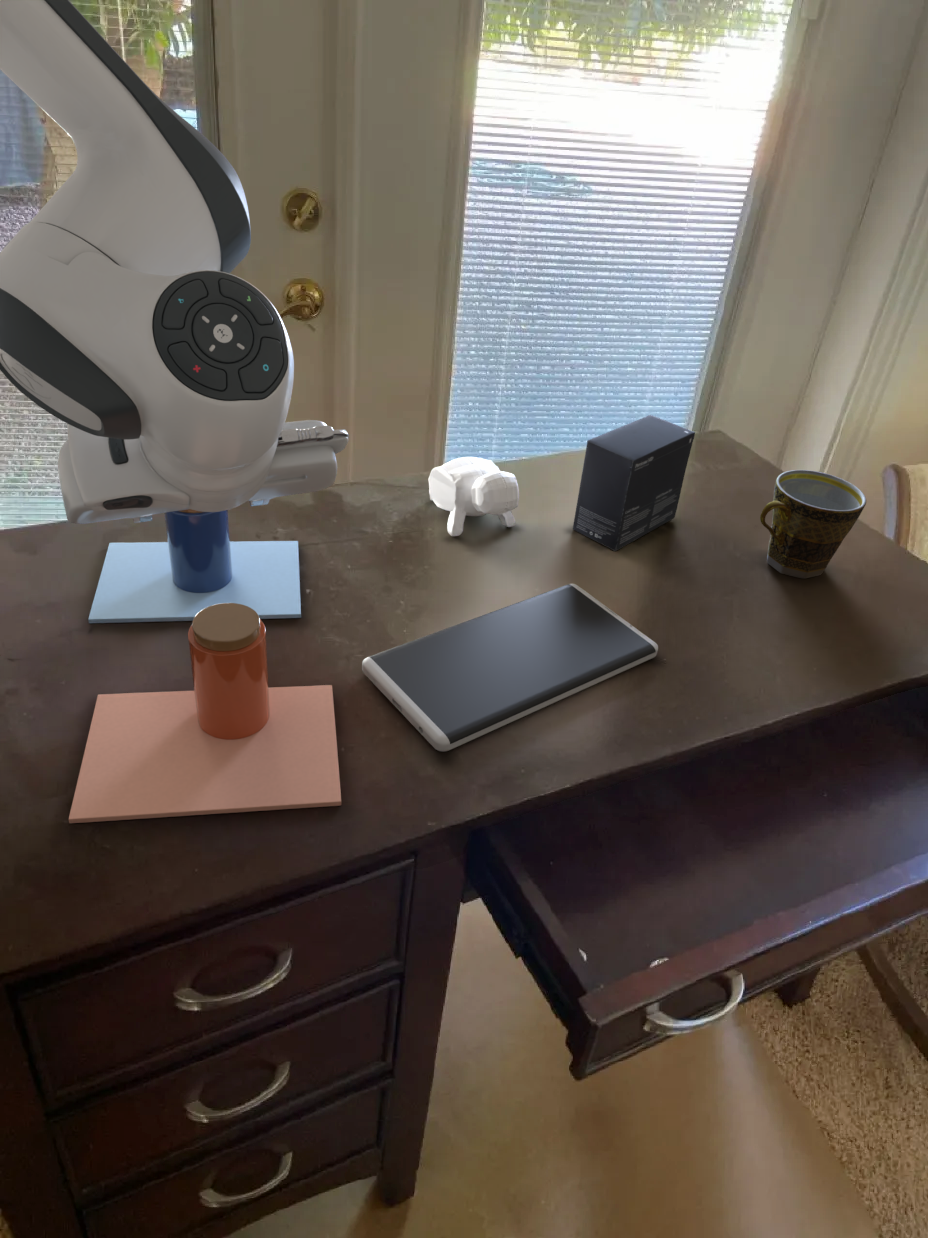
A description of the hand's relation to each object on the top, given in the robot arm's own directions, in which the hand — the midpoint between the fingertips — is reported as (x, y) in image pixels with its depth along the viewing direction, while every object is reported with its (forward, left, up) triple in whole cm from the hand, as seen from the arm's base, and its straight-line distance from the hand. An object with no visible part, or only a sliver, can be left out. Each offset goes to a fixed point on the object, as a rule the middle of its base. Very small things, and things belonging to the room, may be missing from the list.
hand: (200, 504), depth 74 cm
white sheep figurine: (+29, +24, -16) cm, 41 cm away
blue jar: (-2, +12, -15) cm, 20 cm away
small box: (+48, +23, -16) cm, 56 cm away
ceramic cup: (+65, +13, -16) cm, 68 cm away
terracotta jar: (+2, -9, -15) cm, 18 cm away
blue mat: (-2, +12, -16) cm, 20 cm away
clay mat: (+1, -13, -16) cm, 20 cm away
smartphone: (+28, -3, -16) cm, 33 cm away
